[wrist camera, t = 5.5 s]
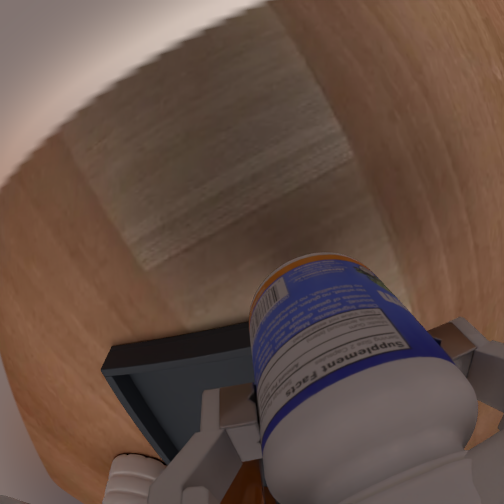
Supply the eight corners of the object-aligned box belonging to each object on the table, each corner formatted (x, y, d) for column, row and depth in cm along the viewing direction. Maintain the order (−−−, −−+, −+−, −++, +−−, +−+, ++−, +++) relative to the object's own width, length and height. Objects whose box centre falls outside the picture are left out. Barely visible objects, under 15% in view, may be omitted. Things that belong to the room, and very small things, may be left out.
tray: (304, 495, 29) (308, 512, 26) (221, 507, 29) (222, 524, 27) (257, 319, 19) (261, 344, 17) (111, 346, 20) (99, 370, 17)
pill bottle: (389, 330, 13) (506, 508, 4) (278, 382, 13) (323, 592, 4) (356, 222, 11) (575, 420, 2) (220, 286, 11) (223, 585, 2)
